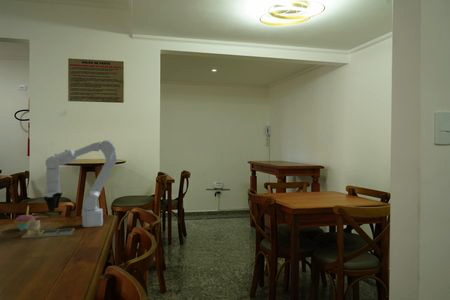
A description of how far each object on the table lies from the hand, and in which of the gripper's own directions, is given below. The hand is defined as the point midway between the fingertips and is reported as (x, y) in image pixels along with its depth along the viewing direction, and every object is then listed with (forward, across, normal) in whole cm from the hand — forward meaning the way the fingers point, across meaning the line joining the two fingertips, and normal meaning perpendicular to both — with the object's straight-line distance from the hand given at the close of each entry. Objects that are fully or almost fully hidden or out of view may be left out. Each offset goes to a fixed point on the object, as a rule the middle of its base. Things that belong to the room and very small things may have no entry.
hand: (53, 209), depth 154 cm
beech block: (+9, +9, -6) cm, 14 cm away
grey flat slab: (+10, +9, 0) cm, 13 cm away
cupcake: (+10, -6, -14) cm, 18 cm away
